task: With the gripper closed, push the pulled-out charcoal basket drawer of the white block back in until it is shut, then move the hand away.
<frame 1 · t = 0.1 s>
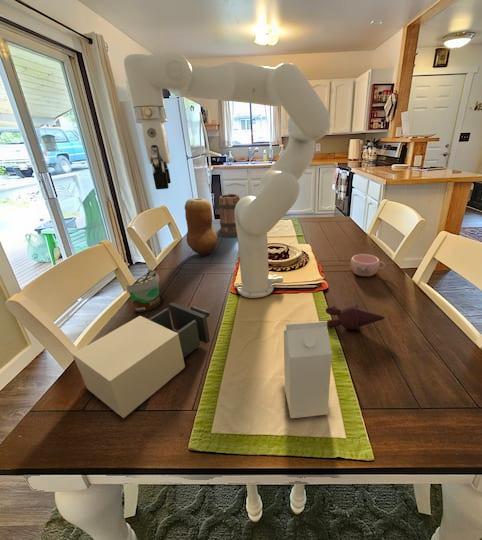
hand: (163, 186, 79), 37 cm above the table, tool pointing down, fingers open, 9 cm apart
milk carton: (305, 402, 57), on the table
tankard: (238, 232, 159), on the table
mug: (366, 273, 107), on the table
butternut squash: (203, 254, 132), on the table
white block: (137, 377, 65), on the table
food container: (153, 305, 93), on the table
drawer: (175, 331, 72), point 5 cm above the table, slide at 8.0 cm
icecream: (352, 327, 78), on the table
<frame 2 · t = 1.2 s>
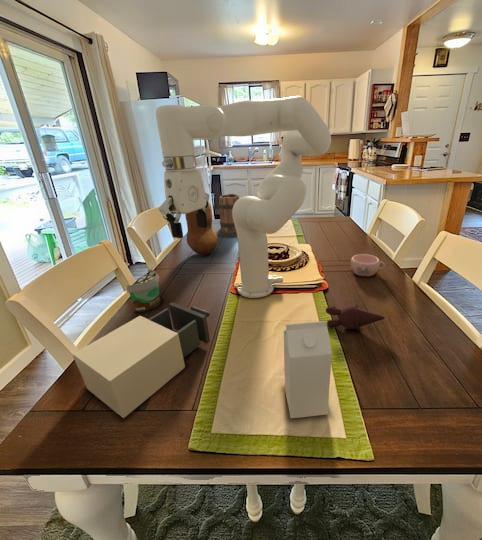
hand: (190, 231, 77), 26 cm above the table, tool pointing down, fingers open, 9 cm apart
nothing on the table moved.
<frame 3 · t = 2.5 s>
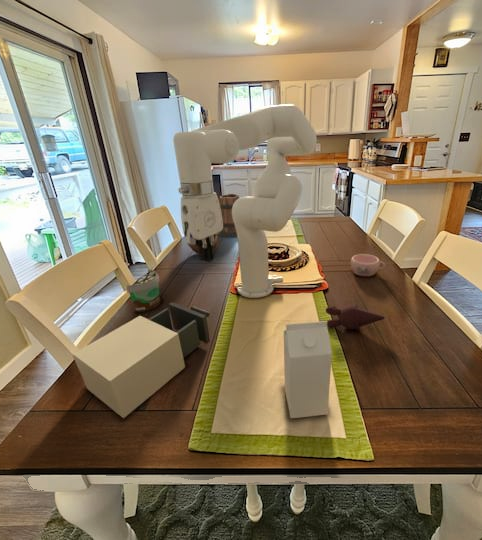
hand: (207, 259, 76), 19 cm above the table, tool pointing down, fingers closed
nothing on the table moved.
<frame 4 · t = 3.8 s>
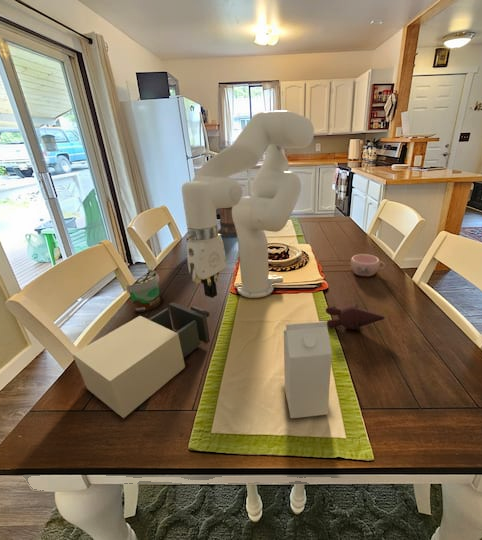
hand: (211, 295, 80), 8 cm above the table, tool pointing down, fingers closed
nothing on the table moved.
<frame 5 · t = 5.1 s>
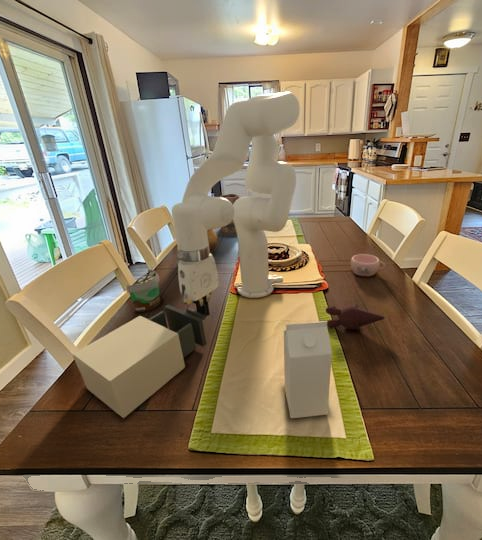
hand: (203, 314, 79), 4 cm above the table, tool pointing down, fingers closed
drawer: (170, 334, 71), point 5 cm above the table, slide at 6.6 cm
everything else where it was.
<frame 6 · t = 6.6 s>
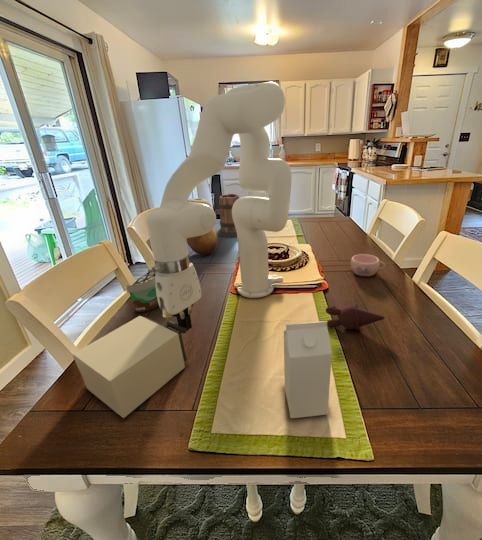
hand: (185, 327, 74), 4 cm above the table, tool pointing down, fingers closed
drawer: (147, 350, 66), point 5 cm above the table, slide at 0.0 cm, touching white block, gripper
everything else where it was.
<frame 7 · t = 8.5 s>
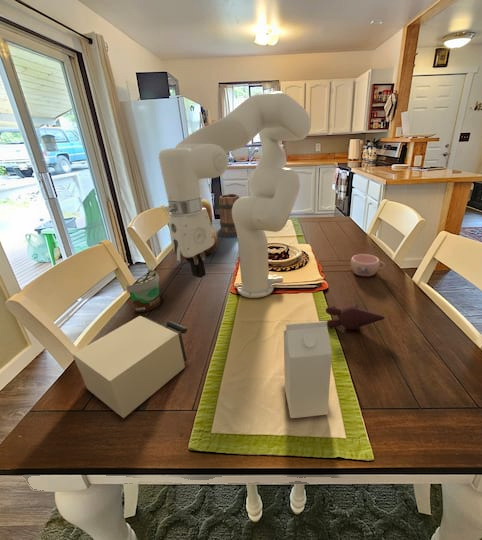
hand: (199, 275, 75), 16 cm above the table, tool pointing down, fingers closed
drawer: (147, 350, 66), point 5 cm above the table, slide at 0.0 cm
everything else where it was.
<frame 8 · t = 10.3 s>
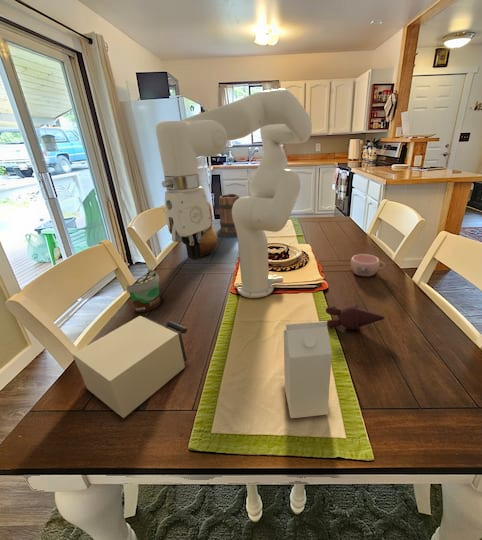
hand: (194, 258, 72), 21 cm above the table, tool pointing down, fingers closed
nothing on the table moved.
at the end: drawer slide at 0.0 cm; the gripper is holding nothing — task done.
